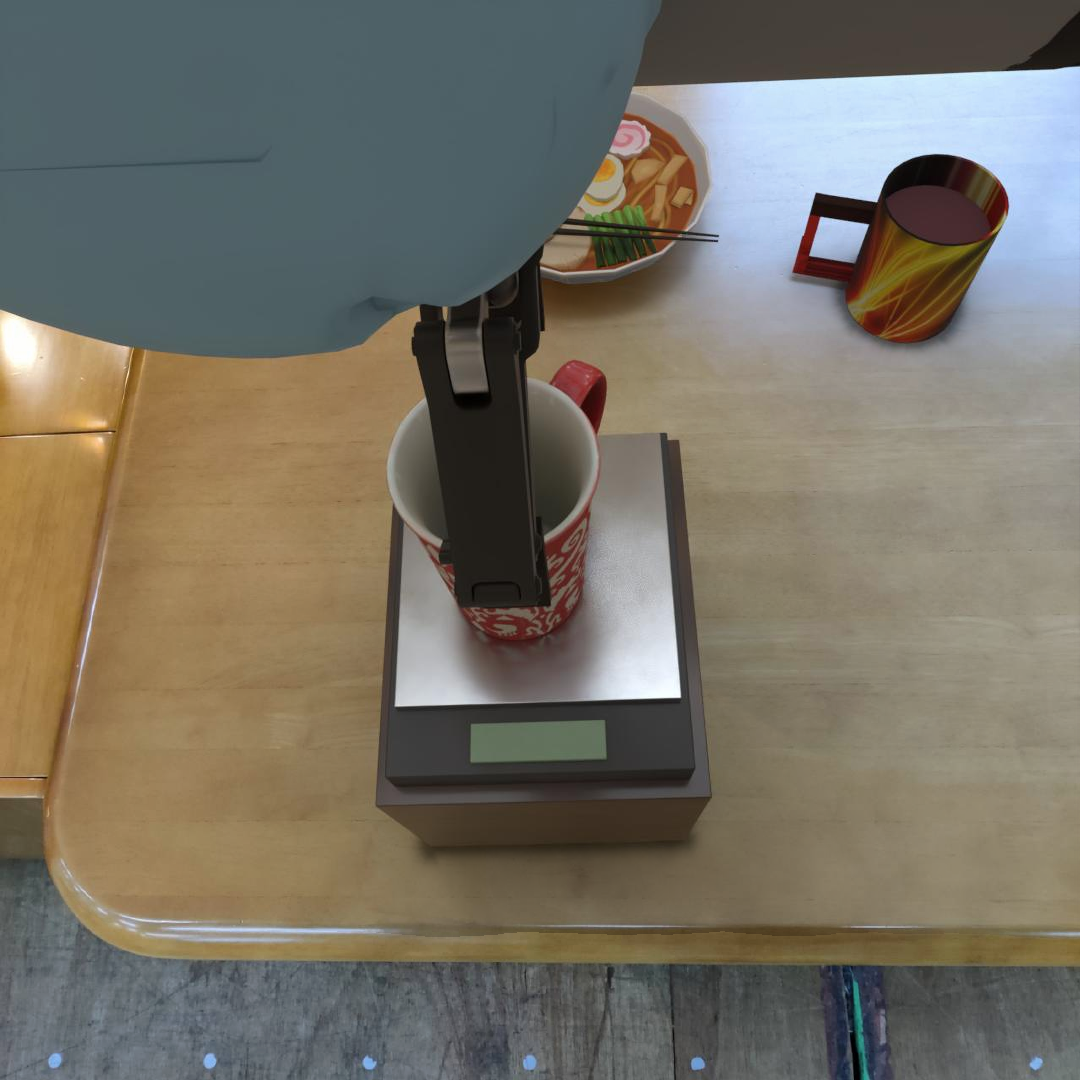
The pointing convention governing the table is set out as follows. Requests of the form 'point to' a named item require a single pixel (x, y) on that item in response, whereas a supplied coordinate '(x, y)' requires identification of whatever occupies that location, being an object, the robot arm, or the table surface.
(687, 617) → the riser
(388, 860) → the table surface
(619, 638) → the kitchen scale
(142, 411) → the table surface
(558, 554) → the mug
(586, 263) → the ramen bowl
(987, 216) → the mug
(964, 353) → the table surface
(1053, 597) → the table surface
